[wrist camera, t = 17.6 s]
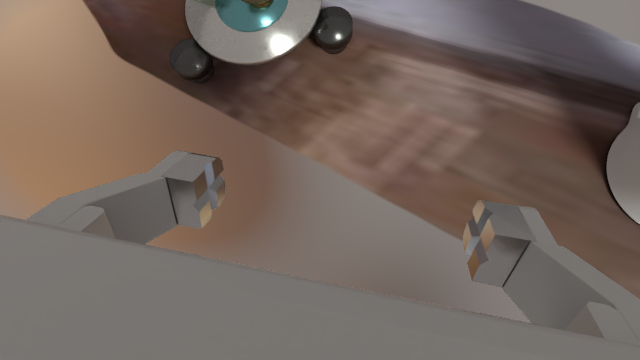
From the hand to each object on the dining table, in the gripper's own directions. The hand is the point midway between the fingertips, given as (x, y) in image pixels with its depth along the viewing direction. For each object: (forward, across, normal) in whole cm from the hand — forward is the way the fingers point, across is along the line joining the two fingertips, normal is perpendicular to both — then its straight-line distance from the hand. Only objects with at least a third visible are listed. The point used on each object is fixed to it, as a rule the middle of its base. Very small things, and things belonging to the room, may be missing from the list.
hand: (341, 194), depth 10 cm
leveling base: (+41, +18, 0) cm, 45 cm away
